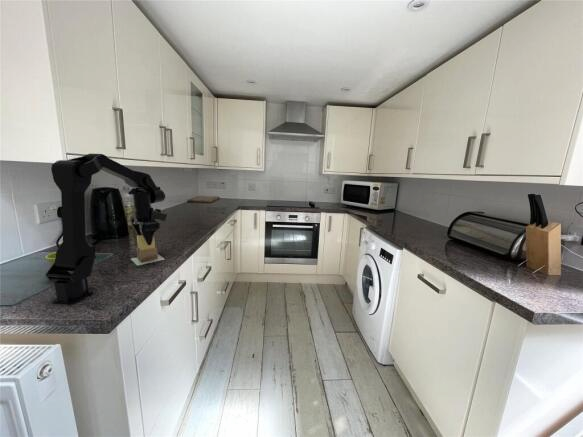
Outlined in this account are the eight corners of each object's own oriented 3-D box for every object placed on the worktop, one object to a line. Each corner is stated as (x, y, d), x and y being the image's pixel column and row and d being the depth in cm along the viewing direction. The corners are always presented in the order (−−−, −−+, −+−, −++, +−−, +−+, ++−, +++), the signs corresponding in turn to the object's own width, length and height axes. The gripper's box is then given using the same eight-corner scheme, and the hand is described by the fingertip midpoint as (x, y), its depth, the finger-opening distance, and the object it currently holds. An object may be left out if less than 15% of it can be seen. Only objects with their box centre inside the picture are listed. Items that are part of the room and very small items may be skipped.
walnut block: (157, 259, 98) (157, 247, 97) (141, 262, 94) (140, 250, 93) (153, 255, 102) (152, 244, 101) (137, 258, 98) (136, 247, 97)
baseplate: (164, 260, 98) (164, 259, 98) (137, 267, 91) (137, 265, 91) (156, 254, 105) (156, 253, 105) (130, 259, 98) (130, 258, 98)
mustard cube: (155, 247, 97) (154, 236, 96) (141, 250, 93) (140, 238, 92) (151, 244, 100) (150, 233, 99) (137, 247, 97) (136, 235, 96)
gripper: (172, 206, 93) (175, 243, 96) (156, 201, 105) (159, 234, 108) (140, 208, 85) (144, 249, 88) (127, 203, 97) (131, 238, 100)
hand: (146, 242), depth 96 cm, fingers open, 9 cm apart
